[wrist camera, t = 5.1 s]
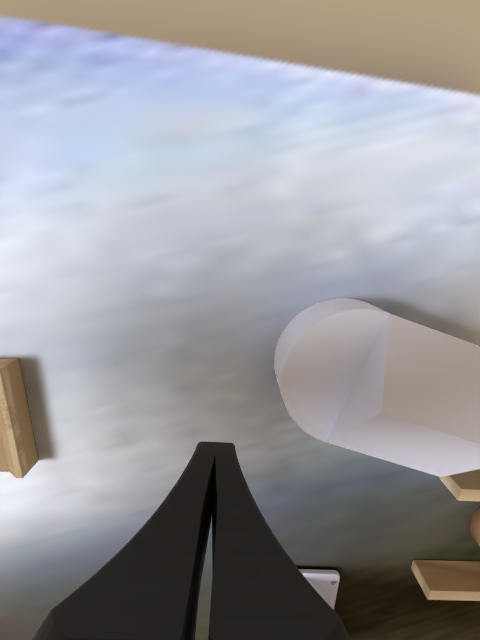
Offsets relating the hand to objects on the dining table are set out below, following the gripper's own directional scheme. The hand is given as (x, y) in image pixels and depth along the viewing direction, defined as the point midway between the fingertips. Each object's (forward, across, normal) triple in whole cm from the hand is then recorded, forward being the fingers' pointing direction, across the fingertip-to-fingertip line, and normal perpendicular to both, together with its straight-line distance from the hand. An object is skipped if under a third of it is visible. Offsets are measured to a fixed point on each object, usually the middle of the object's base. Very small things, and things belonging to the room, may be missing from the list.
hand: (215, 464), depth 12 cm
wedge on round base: (+10, -10, 0) cm, 14 cm away
